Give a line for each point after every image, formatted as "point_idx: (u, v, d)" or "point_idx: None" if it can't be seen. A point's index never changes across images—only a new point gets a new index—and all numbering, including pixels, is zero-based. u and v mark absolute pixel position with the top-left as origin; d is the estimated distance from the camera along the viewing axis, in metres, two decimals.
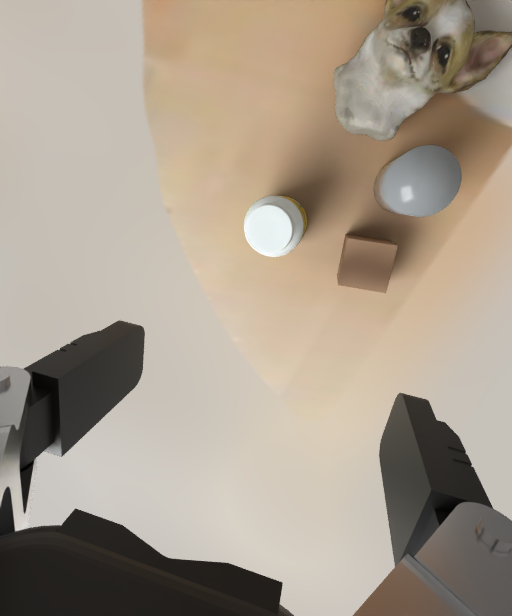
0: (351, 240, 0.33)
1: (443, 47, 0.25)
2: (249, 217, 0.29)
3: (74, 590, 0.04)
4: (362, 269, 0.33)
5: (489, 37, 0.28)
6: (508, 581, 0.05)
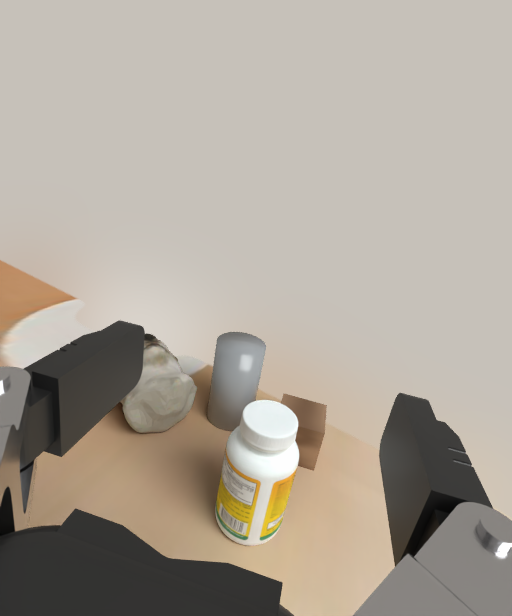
0: None
1: None
2: (254, 428, 0.23)
3: (74, 590, 0.04)
4: (306, 415, 0.34)
5: None
6: (508, 581, 0.05)
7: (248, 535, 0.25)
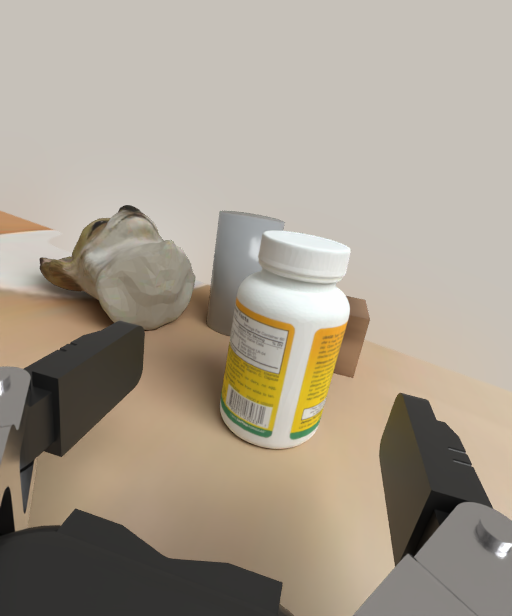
0: None
1: None
2: (284, 241, 0.14)
3: (74, 590, 0.04)
4: None
5: None
6: (508, 581, 0.05)
7: (272, 429, 0.16)
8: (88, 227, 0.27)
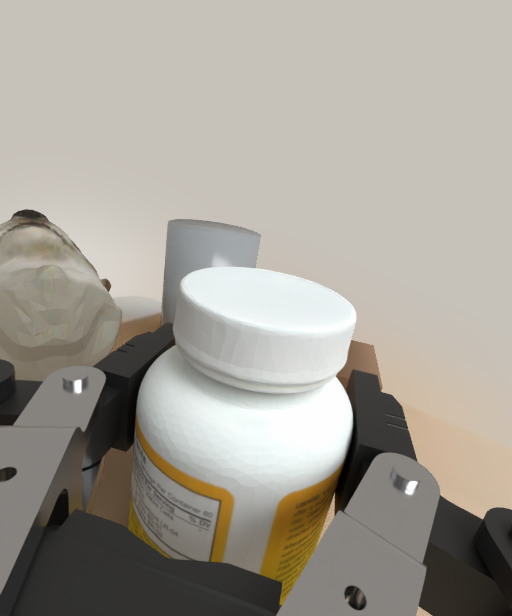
0: None
1: None
2: (212, 305, 0.07)
3: (74, 589, 0.04)
4: None
5: None
6: (405, 508, 0.06)
7: None
8: None
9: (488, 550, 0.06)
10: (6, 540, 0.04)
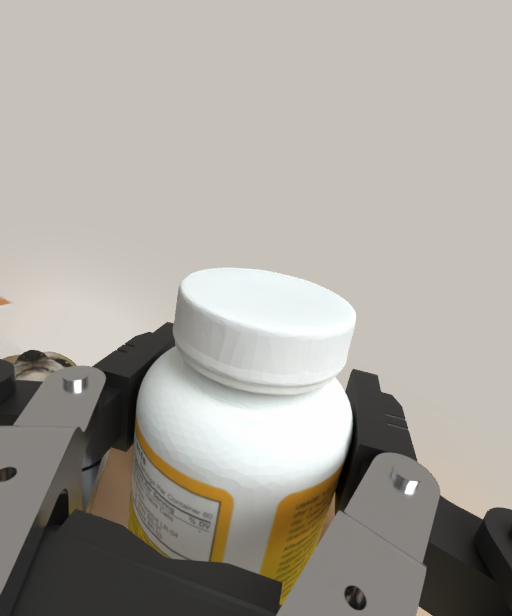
0: None
1: (56, 361, 0.24)
2: (212, 307, 0.07)
3: (74, 590, 0.04)
4: None
5: None
6: (405, 509, 0.06)
7: None
8: None
9: (488, 550, 0.06)
10: (6, 540, 0.04)
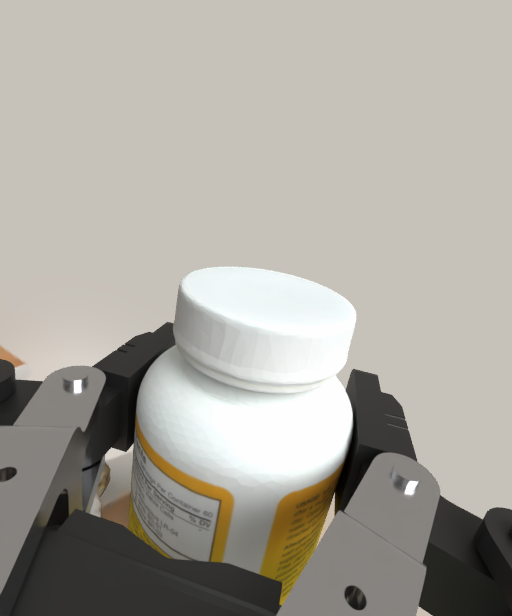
0: None
1: None
2: (212, 305, 0.07)
3: (74, 590, 0.04)
4: None
5: None
6: (405, 508, 0.06)
7: None
8: None
9: (488, 550, 0.06)
10: (5, 540, 0.04)
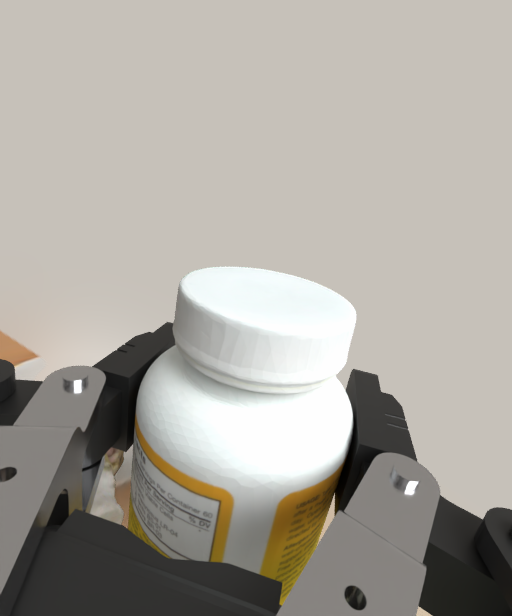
0: None
1: None
2: (212, 305, 0.06)
3: (74, 590, 0.04)
4: None
5: None
6: (405, 508, 0.06)
7: None
8: None
9: (488, 550, 0.06)
10: (6, 539, 0.04)
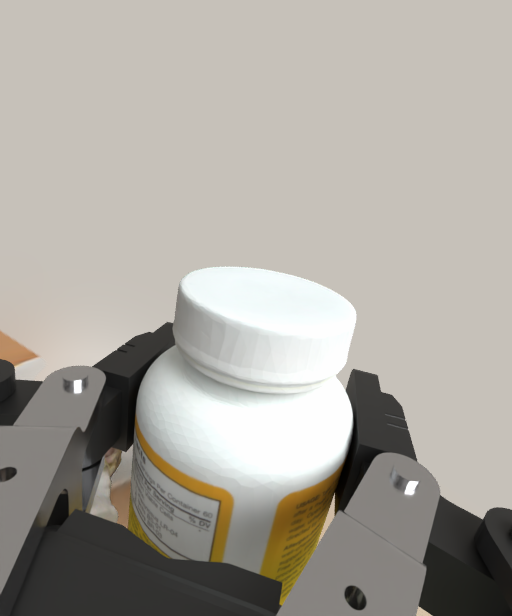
0: None
1: None
2: (212, 305, 0.06)
3: (74, 590, 0.04)
4: None
5: None
6: (405, 508, 0.06)
7: None
8: None
9: (488, 550, 0.06)
10: (6, 539, 0.04)
